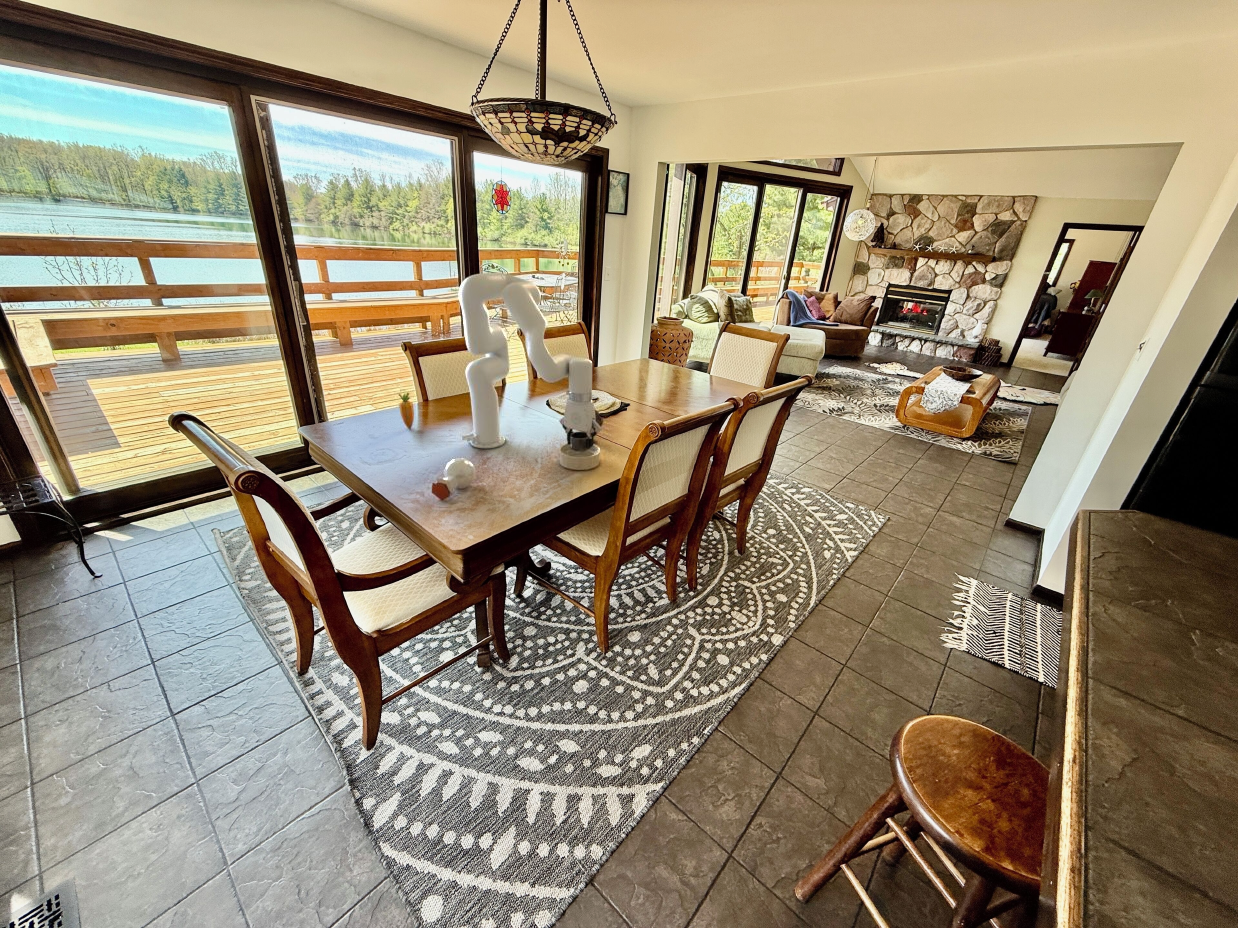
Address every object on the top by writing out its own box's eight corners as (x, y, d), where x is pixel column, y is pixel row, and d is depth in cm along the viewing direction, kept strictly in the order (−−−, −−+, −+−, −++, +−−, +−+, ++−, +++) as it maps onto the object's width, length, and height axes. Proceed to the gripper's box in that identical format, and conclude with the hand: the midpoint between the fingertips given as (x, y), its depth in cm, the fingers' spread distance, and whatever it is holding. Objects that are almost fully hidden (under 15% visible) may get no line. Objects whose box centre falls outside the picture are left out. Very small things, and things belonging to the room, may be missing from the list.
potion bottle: (475, 483, 155) (447, 510, 142) (451, 464, 154) (421, 489, 141) (487, 466, 149) (459, 493, 137) (462, 446, 148) (431, 471, 136)
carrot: (400, 429, 188) (394, 393, 182) (409, 425, 192) (403, 389, 186) (409, 432, 187) (404, 395, 180) (419, 428, 191) (414, 391, 184)
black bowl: (575, 453, 163) (575, 440, 161) (567, 446, 168) (567, 433, 166) (593, 450, 166) (593, 437, 164) (584, 443, 171) (584, 430, 169)
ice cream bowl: (599, 449, 180) (600, 411, 174) (570, 445, 182) (570, 408, 176) (605, 438, 190) (606, 402, 183) (578, 435, 192) (578, 399, 185)
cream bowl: (569, 474, 160) (569, 460, 158) (552, 457, 171) (552, 445, 169) (606, 466, 167) (607, 453, 165) (588, 451, 178) (588, 439, 176)
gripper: (552, 394, 159) (553, 444, 167) (598, 403, 152) (596, 454, 160) (564, 389, 165) (564, 437, 173) (608, 397, 158) (607, 447, 166)
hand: (580, 445), depth 166 cm, fingers closed on black bowl, 7 cm apart
